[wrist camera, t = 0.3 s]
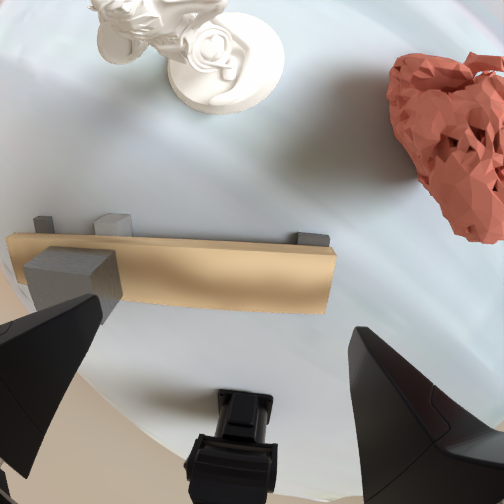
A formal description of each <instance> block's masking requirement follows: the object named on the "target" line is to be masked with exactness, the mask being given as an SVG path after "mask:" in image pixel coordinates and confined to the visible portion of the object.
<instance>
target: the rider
mask: <svg viewBox="0 0 504 504" xmlns="http://www.w3.org/2000/svg"><path fill="white" fill-rule="evenodd" d="M22 268H23V271H24V275H25V278H26V281H27V285H28V288H29V291H30V294H31V297H32V300H33V302H34V305H35V308H36V310H37V311H40V310H43V309H46V308H48V307H51V306H54V305H57V304H59V303H62V302H65V301H68V300H70V299H73V298H76V297H79V296H82V295H84V294H87V293H90V294H95V295H97V296H98V297H99V300H100V304H101V308H102V312H103V319H102V321H101V325H103V323H104V322H105V321H106V319H107V318H108V316H109V315H110V313H111V312H112V310H113V309H114V308H115V306H116V305H117V303H118V302H119V301H120V299H121V298H122V296H123V291H122V286H121V281H120V276H119V270H118V264H117V258H116V252H115V250H108V249H92V248H76V247H61V246H49V247H48V248H46V249H45V250H44V251H42V252H41V253H39V254H38V255H37V256H35V257H34V258H33V259H31V260H30V261H29V262H27V263H26V264H25V265H23V266H22Z"/></svg>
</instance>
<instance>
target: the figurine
mask: <svg viewBox="0 0 504 504" xmlns="http://www.w3.org/2000/svg"><path fill="white" fill-rule="evenodd" d="M91 3H92V5H93V6H89V7H88V8H89V9H91V10H93V11H98V16H99V21H100V26H99V29H98V34H97V46H98V50H99V52H100V54H101V56H102V57H103V58H104V59H105V60H106V61H108V62H109V63H113V64H127V63H129V62H132V61H134V60H135V59H136V58H138V57H140V56H141V54H142V53H143V52H144V51H145V50H146V48H147V47H148V45H149V44H150V45H151V46H152V47H154V48H155V49H157V51H158V52H159V54H160V55H162V56H165V57H167V58H168V68H167V72H168V78H169V82H170V84H171V87H172V89H173V90H174V92H175V93H176V95H177V96H178V97H179V98H180V99H181V100H182V101H183V102H184V103H185V104H186V105H188V106H190V107H191V108H193V109H195V110H198V111H201V112H203V113H208V114H215V115H224V114H232V113H237V112H241V111H243V110H246V109H249V108H251V107H253V106H254V105H256V104H258V103H259V102H261V101H262V100H263V99H264V98H265V97H267V96H268V95H269V94H270V93H271V91H272V90H273V89H274V88H275V86H276V85H277V83H278V81H279V79H280V77H281V75H282V71H283V67H284V52H283V47H282V44H281V42H280V40H279V38H278V36H277V34H276V33H275V32H274V31H273V29H272V28H271V27H270V26H268V25H267V24H266V23H265V22H263V21H262V20H260V19H258V18H256V17H254V16H251V15H247V14H244V13H236V12H225V13H222V12H223V11H224V10H225V8H226V7H227V4H228V0H91ZM196 13H198V14H199V15H198V16H197V17H196V18H195V17H194V16H196Z"/></svg>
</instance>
